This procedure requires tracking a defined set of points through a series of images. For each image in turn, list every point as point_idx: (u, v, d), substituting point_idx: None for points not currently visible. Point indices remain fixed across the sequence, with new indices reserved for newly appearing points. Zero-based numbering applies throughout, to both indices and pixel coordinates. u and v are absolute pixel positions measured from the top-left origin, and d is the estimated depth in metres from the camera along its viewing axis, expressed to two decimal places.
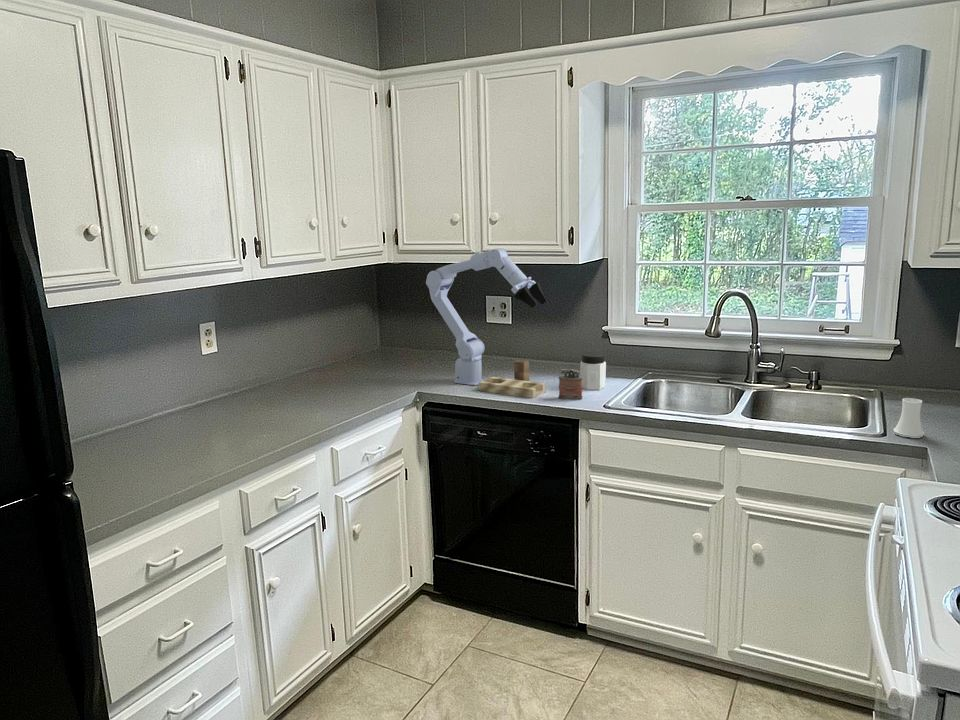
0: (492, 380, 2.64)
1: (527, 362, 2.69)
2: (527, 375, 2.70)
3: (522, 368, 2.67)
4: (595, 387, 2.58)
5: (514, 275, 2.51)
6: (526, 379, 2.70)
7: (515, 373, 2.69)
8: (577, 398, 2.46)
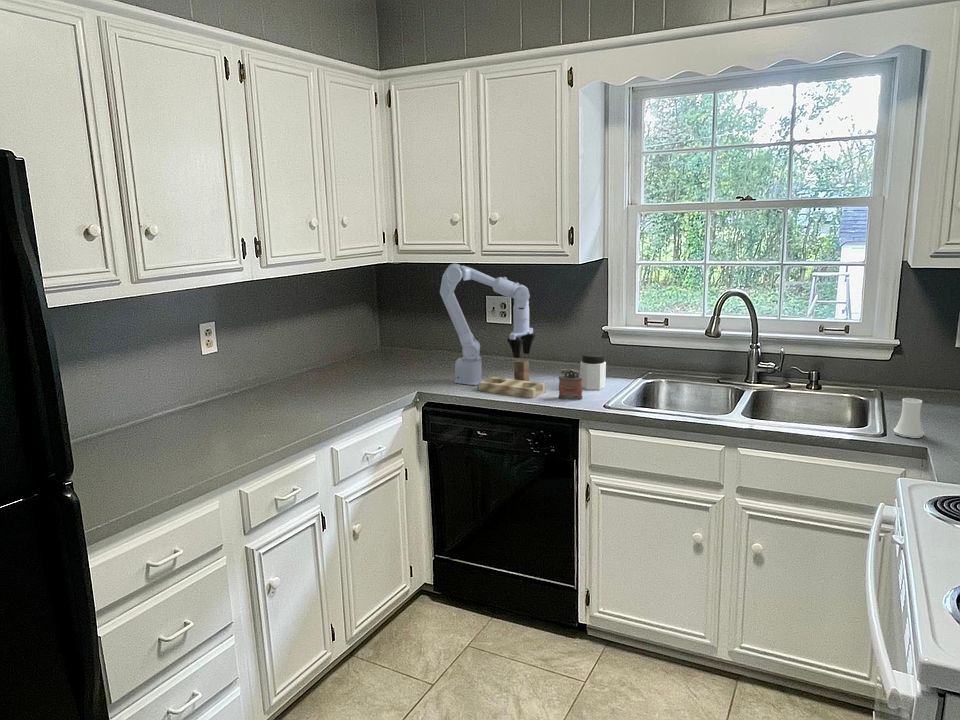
0: (492, 380, 2.64)
1: (527, 362, 2.69)
2: (527, 375, 2.70)
3: (522, 368, 2.67)
4: (595, 387, 2.58)
5: (521, 322, 2.63)
6: (526, 379, 2.70)
7: (515, 373, 2.69)
8: (577, 398, 2.46)
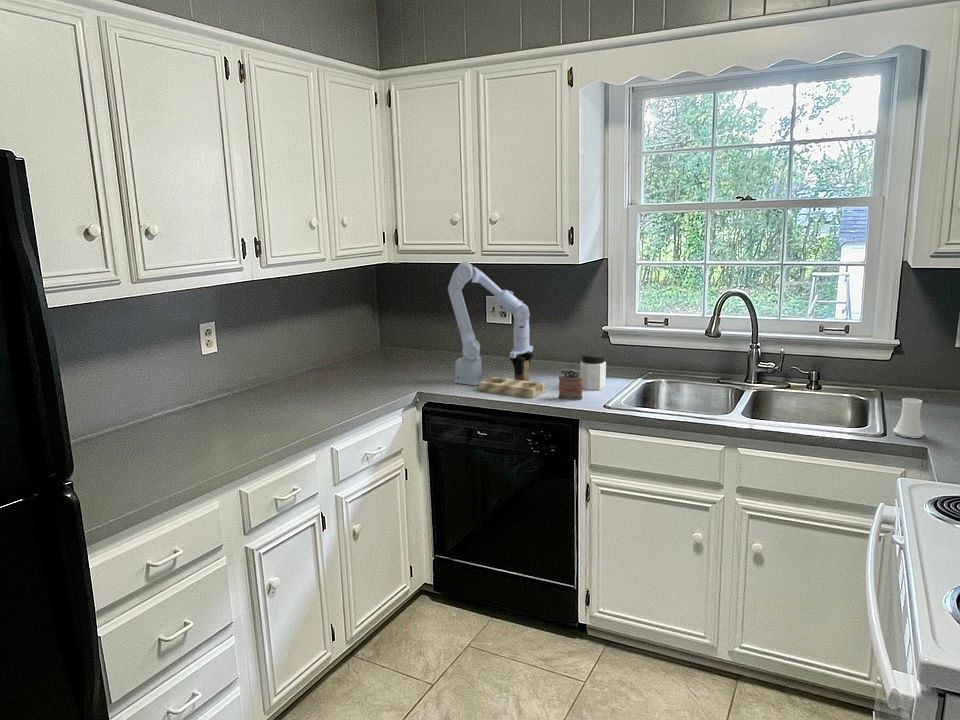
0: (492, 380, 2.64)
1: (527, 362, 2.69)
2: (527, 375, 2.70)
3: None
4: (595, 387, 2.58)
5: (521, 340, 2.65)
6: (526, 379, 2.70)
7: (515, 373, 2.69)
8: (577, 398, 2.46)
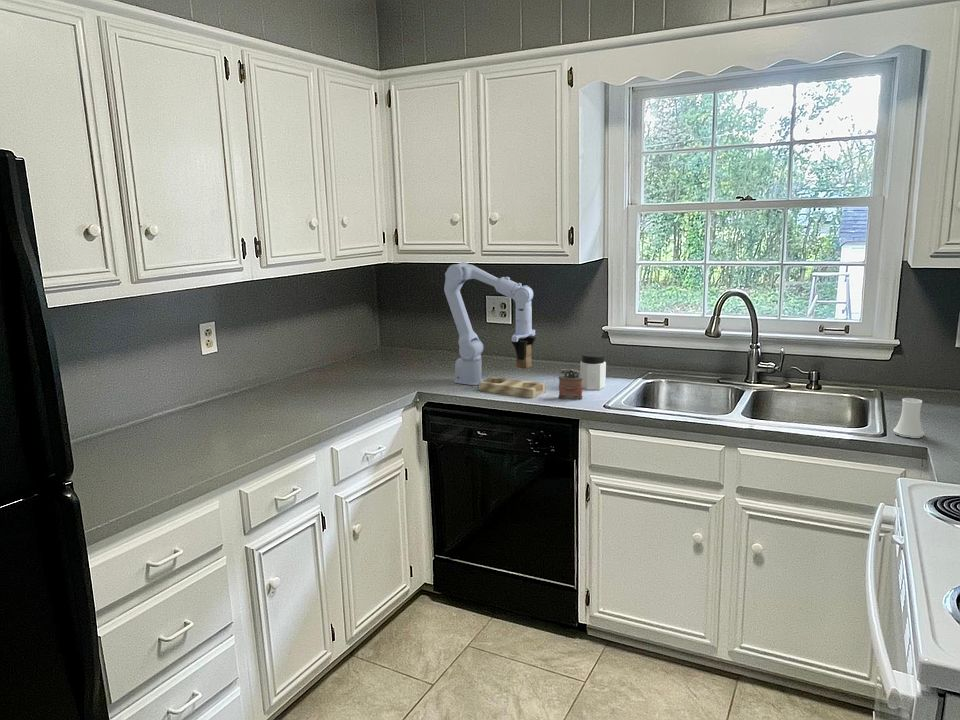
0: (492, 380, 2.64)
1: (529, 346, 2.61)
2: (529, 360, 2.62)
3: None
4: (595, 387, 2.58)
5: (523, 323, 2.57)
6: (528, 364, 2.62)
7: (517, 357, 2.61)
8: (577, 398, 2.46)
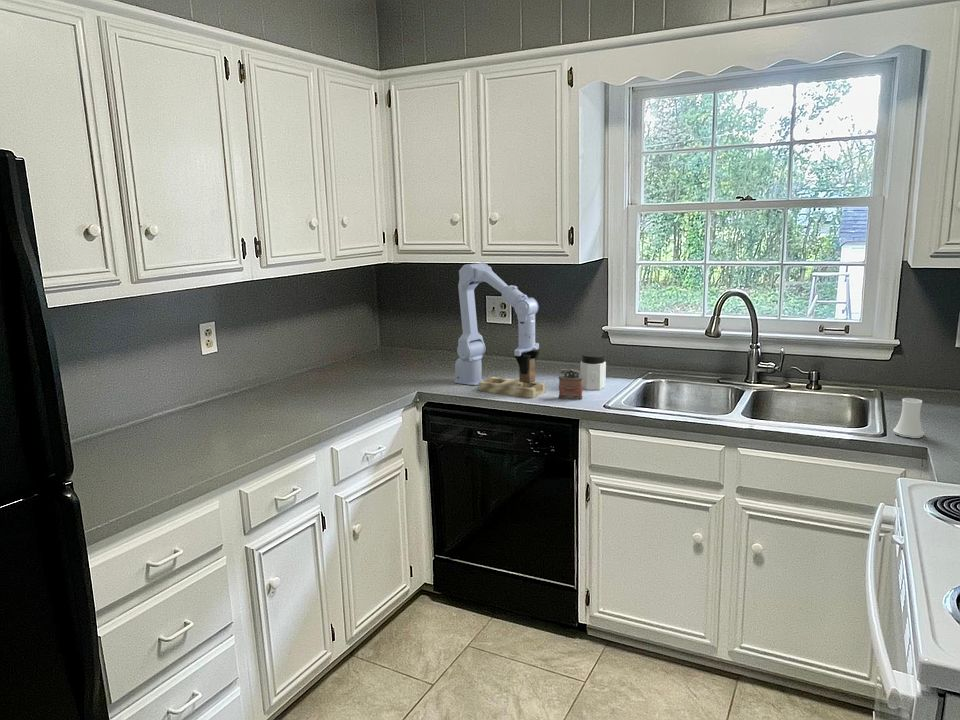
0: (492, 380, 2.64)
1: (533, 360, 2.53)
2: (533, 374, 2.54)
3: (528, 367, 2.51)
4: (595, 387, 2.58)
5: (527, 337, 2.48)
6: (532, 378, 2.53)
7: (520, 372, 2.53)
8: (577, 398, 2.46)
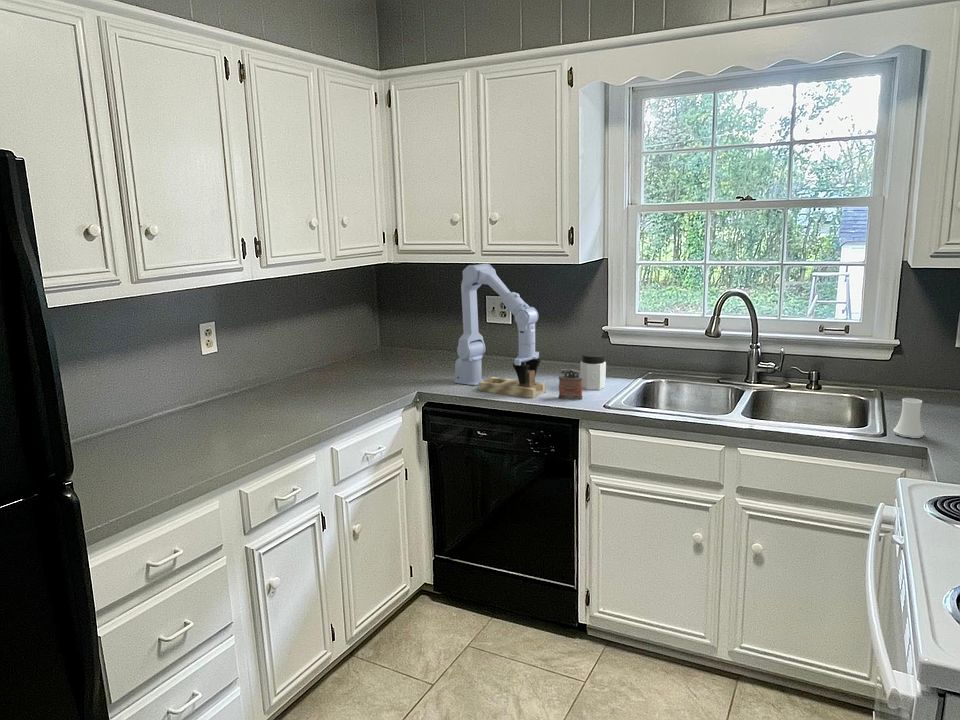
0: (492, 380, 2.64)
1: (533, 372, 2.54)
2: None
3: (527, 379, 2.52)
4: (595, 387, 2.58)
5: (527, 346, 2.49)
6: None
7: (520, 384, 2.54)
8: (577, 398, 2.46)
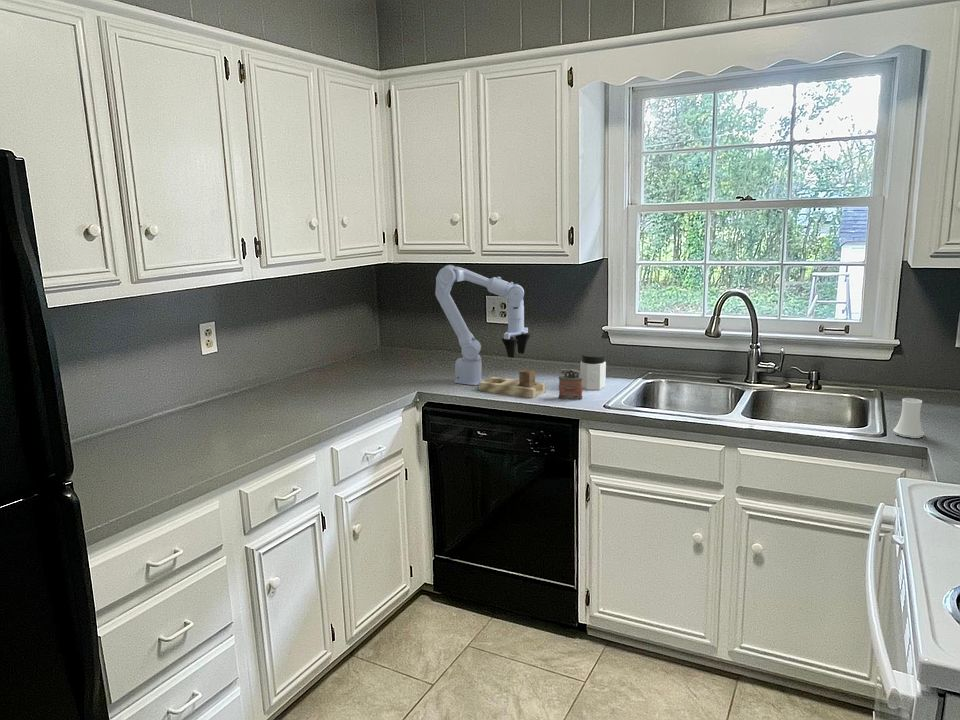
0: (492, 380, 2.64)
1: (533, 372, 2.54)
2: None
3: (528, 378, 2.52)
4: (595, 387, 2.58)
5: (515, 321, 2.62)
6: None
7: (520, 384, 2.54)
8: (577, 398, 2.46)
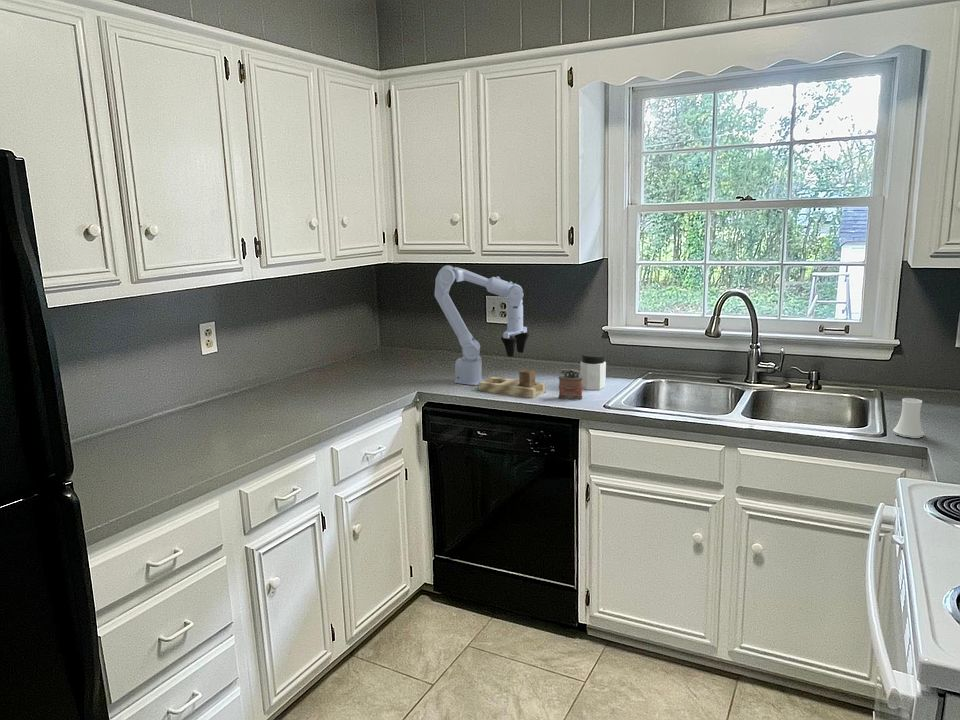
0: (492, 380, 2.64)
1: (533, 372, 2.54)
2: None
3: (528, 378, 2.52)
4: (595, 387, 2.58)
5: (515, 321, 2.63)
6: None
7: (520, 384, 2.54)
8: (577, 398, 2.46)
